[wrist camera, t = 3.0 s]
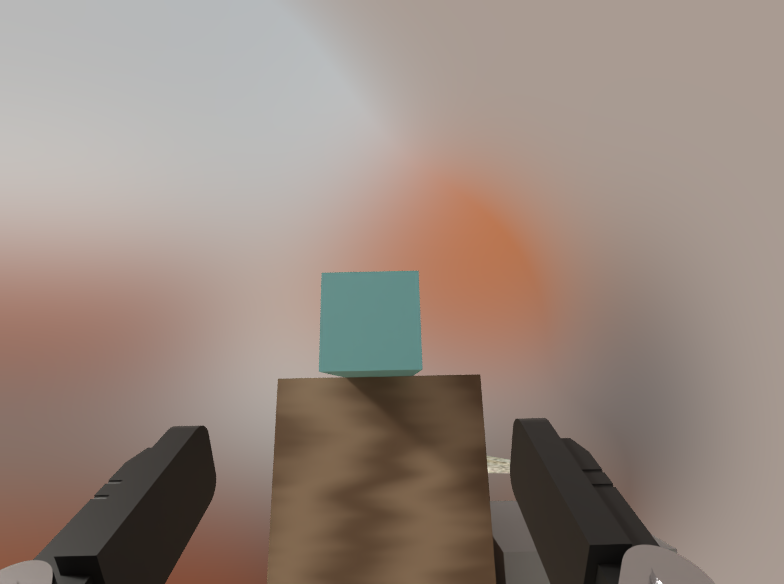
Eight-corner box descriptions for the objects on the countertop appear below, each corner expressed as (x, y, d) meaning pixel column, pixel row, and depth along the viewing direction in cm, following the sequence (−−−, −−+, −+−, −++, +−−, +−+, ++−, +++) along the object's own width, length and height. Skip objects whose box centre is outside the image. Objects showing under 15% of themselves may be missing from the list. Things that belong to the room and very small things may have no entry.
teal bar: (405, 381, 38) (404, 341, 39) (422, 369, 15) (418, 270, 15) (365, 381, 38) (365, 342, 39) (318, 371, 15) (321, 272, 16)
